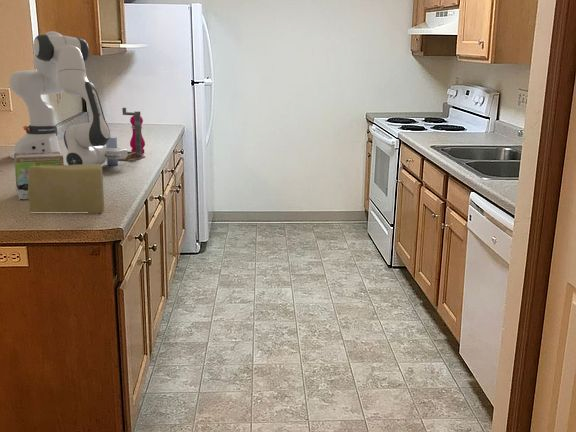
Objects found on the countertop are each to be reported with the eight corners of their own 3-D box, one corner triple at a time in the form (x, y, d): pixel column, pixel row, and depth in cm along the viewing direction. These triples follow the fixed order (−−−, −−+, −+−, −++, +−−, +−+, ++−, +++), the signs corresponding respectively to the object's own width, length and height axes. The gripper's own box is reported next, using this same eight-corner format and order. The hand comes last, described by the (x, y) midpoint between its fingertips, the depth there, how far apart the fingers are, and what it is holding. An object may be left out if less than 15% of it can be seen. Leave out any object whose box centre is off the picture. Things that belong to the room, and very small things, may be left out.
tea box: (19, 201, 206) (15, 157, 202) (16, 194, 214) (12, 152, 210) (66, 197, 213) (63, 154, 209) (62, 190, 221) (59, 150, 217)
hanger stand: (133, 161, 279) (131, 110, 272) (107, 159, 282) (104, 109, 275) (145, 157, 289) (143, 108, 283) (120, 155, 292) (118, 106, 286)
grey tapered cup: (109, 166, 267) (107, 138, 264) (105, 164, 271) (104, 137, 268) (119, 165, 270) (118, 137, 266) (115, 163, 273) (114, 136, 270)
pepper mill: (141, 154, 296) (139, 113, 291) (127, 153, 297) (125, 112, 292) (147, 152, 303) (146, 111, 297) (134, 151, 304) (132, 110, 299)
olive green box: (27, 217, 187) (23, 169, 183) (32, 209, 196) (28, 163, 192) (103, 215, 192) (100, 167, 188) (104, 207, 201) (102, 162, 197)
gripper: (117, 148, 253) (134, 144, 266) (74, 145, 258) (92, 141, 271) (118, 163, 255) (134, 158, 268) (75, 160, 260) (92, 155, 273)
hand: (112, 149), depth 269 cm, fingers closed on grey tapered cup, 5 cm apart
